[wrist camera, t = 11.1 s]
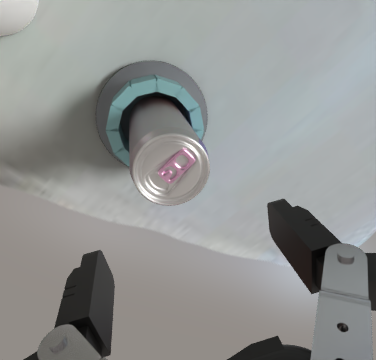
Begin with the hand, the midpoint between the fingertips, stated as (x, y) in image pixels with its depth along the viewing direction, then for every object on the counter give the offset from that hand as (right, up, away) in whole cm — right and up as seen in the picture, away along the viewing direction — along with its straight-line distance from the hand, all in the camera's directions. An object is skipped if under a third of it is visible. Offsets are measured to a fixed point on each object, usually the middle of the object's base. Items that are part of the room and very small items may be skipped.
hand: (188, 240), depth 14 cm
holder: (-4, +10, +21) cm, 24 cm away
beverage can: (-4, +10, +21) cm, 23 cm away
